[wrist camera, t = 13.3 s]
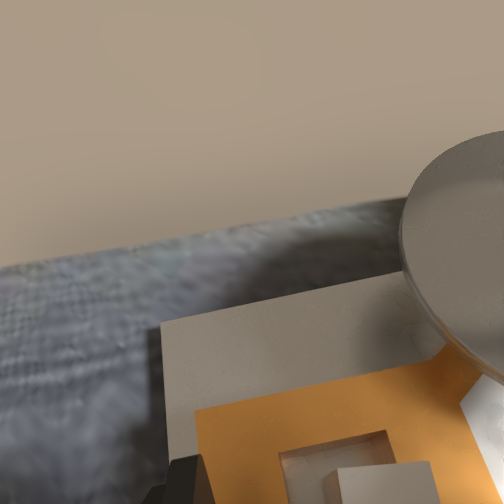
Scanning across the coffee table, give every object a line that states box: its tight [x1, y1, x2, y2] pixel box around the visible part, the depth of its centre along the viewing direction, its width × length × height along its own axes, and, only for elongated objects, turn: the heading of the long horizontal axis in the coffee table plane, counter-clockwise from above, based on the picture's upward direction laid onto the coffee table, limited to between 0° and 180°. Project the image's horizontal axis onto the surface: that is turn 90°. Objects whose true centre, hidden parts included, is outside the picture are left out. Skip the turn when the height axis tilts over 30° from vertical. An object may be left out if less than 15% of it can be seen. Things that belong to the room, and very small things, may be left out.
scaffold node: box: [160, 131, 504, 504], centre depth 15 cm, size 26×20×16 cm
